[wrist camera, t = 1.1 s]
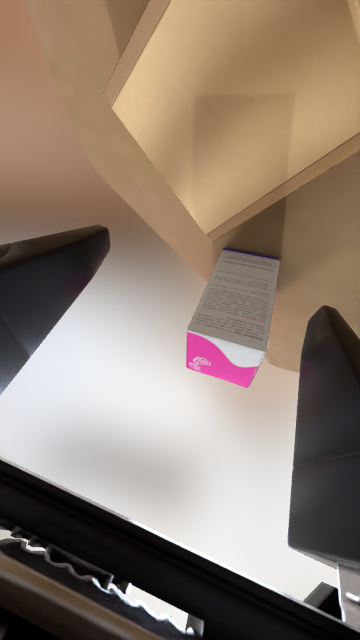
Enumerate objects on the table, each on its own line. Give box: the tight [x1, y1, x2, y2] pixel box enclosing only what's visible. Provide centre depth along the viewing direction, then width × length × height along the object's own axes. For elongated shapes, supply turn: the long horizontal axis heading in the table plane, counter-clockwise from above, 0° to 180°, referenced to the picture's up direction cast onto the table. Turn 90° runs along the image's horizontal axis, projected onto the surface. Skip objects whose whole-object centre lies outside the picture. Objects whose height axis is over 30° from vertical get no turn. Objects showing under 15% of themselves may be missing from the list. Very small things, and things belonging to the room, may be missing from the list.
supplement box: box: [186, 248, 281, 388], centre depth 21 cm, size 6×6×12 cm
